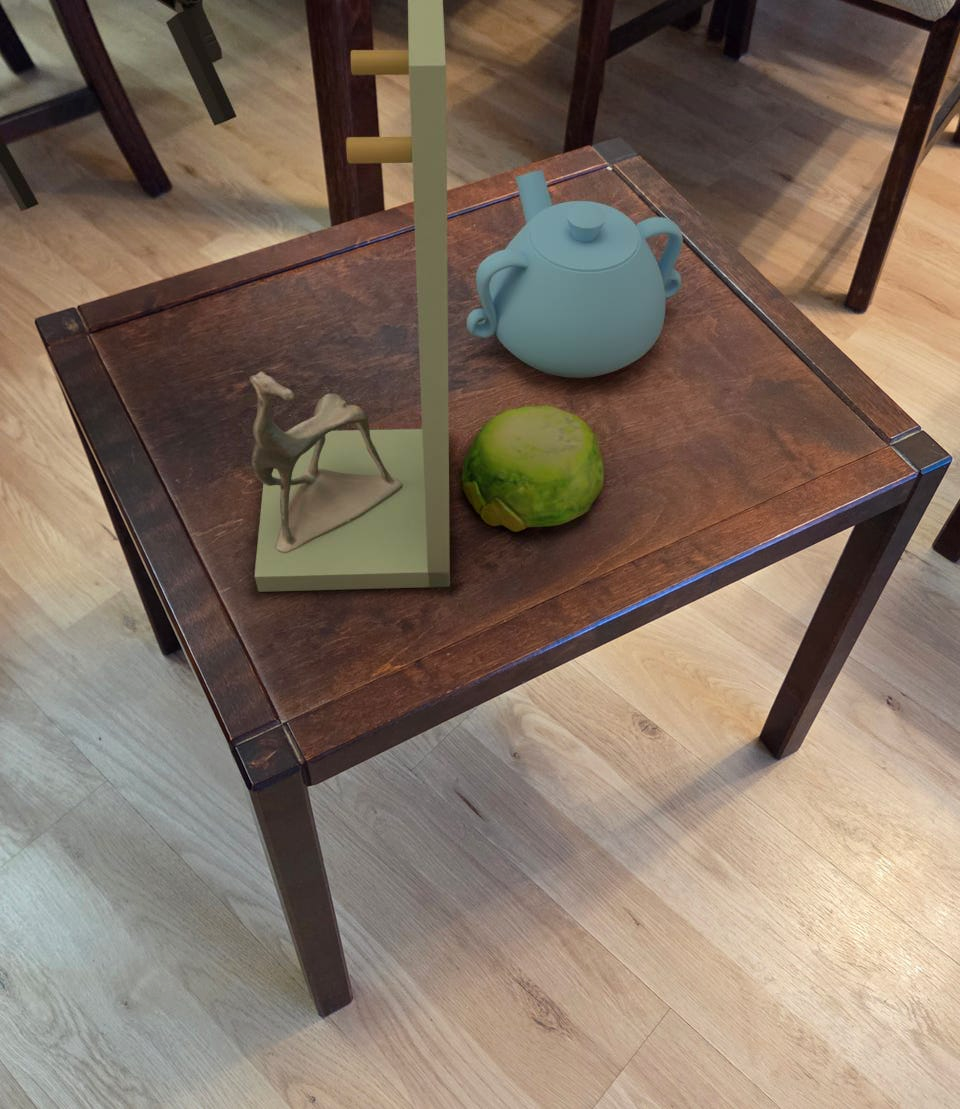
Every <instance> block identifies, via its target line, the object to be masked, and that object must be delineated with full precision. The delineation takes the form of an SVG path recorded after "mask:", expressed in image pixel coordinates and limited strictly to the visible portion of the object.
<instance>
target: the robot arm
mask: <svg viewBox="0 0 960 1109" xmlns="http://www.w3.org/2000/svg"><path fill="white" fill-rule="evenodd" d="M156 1H157V2H159V3H160V4H162V5H163V6H166V7H167V8H168V9H170V10H171V11H173V12H175V13H176V14H175V15H173V16H171V18H169V19H168V20H167V21H166V26H167V27H168V30H169V32H170V34H171V37H172V38H173V40H174V43H175V44H176V47H177V49H178V51H179V53H180V55H181V57H182V59H183V62H184V64H185V66H186V68H187V70H188V72H189V75H190V78H192V81H193V84H194V86H195V87H196V89H197V92H198V93H199V96H200V98H201V100H202V102H203V105H204V107H205V109H206V111H207V114H208V115H209V117H210V119H211V122H212V124H213V126H215V127H216V126H218V125H221V124H223V123H225V122H227V121H230V120H233V119H235V118H237V117H238V116H237V113H236V112H235V109H234V107H233V105H232V102H231V101H230V98H229V96H228V94H227V91H226V90H225V88H224V85H223V84H222V81H221V78H220V76H219V74H218V72H217V70H216V68H215V65H214V63H216V62H218V61H220V60H222V59H223V52H222V48H221V47H222V46H221V45H220V43H219V41H218V39H217V36H216V34H215V32H214V30H213V27H212V25H211V23H210V21H209V18H208V16H207V14H206V12H205V9H204V5H203V1H204V0H156ZM0 176H1V178H2V180H3V182H4V183H5V185H6V187H7V189H8V191H9V192H10V194H11V196H12V198H13V199H14V201H15V203H16V205H17V207H18V208H19V210H20V212H22V211H23V212H24V211H26V210H29V209H31V208H33V207H35V206H38V205H39V204H40V203H39V202H38V199H37V198H36V196H35V194H34V192H33V191H32V189H31V187H30V185H29V184H28V182H27V180H26V178H25V175H23V173H22V171H21V169H20V167H19V166H18V163H17V162H16V159H15V158H14V156H13V155H12V153H11V151H10V149H9V148H8V146H7V144H6V142H5V141H4V139H3V137H2V135H1V134H0Z"/></svg>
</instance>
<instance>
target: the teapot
mask: <svg viewBox="0 0 960 1109" xmlns="http://www.w3.org/2000/svg"><path fill="white" fill-rule="evenodd" d="M515 181H516V187H517V190H518V195H519V199H520V203H521V208H522V213H523V217H524V220H525V225H524V226H523V227H522V228H521V229H520V230H519V231H518V233H517V234H516V235H515V236H514V237H513V238H512V240H510V242H509V243H508V245H507V246H506V247H505V248H504V249H501V250H499V251H495V252H493V253H492V254H490V255H488V256H487V257H486V258H484V260H482V262H481V263H480V264H479V266H478V267H477V270H476V275H475V285H476V290H477V294H478V297H479V301H480V303H481V305H482V308H475V309H473V310H472V311H470V312H469V314H468V316H467V317H466V328H467V331H468V332H469V333H470V334H471V336H473V337H475V338H479V339H488V338H491V337H493V336H494V335H495V336H496V338H497V340H498V341H499V343H501V344H502V346H503V347H504V348H505V349H506V350H508V351H509V352H510V353H511V354H512V355H513V356H514V357H516V358H517V359H518V360H521V362H522V363H524V364H525V365H528V366H530V367H532V368H533V369H535V370H537V371H540V372H542V373H544V374H547V375H552V376H555V377H561V378H570V379H585V378H595V377H600V376H603V375H606V374H610V373H614V372H616V371H618V370H621V369H622V368H625V367H628V366H629V365H631V364H632V363H635V362H636V361H638V360H639V359H641V358H642V357H643V356H644V355H646V354H647V353H648V351H650V350H651V348H652V347H653V346H654V345H655V343H656V342H657V341H658V339H659V337H660V335H661V333H662V331H663V328H664V324H665V317H666V299H669V298H671V297H673V296H675V295H676V294H678V293H679V291H680V289H681V287H682V276H681V274H680V272H679V271H677V270H676V269H674V267H675V265H676V263H677V261H678V259H679V256H680V255H681V252H682V249H683V243H684V242H683V241H684V239H683V238H684V237H683V233H682V230H681V229H680V227H679V226H678V225H677V224H676V223H675V221H673V220H671V219H669V218H667V217H662V216H654V217H650V218H647V219H644V220H641V221H639V222H638V223H636V224H635V222H634V221H633V220H632V219H631V218H630V217H629V216H627V215H626V214H625V213H623V212H622V211H620V210H618V209H617V208H614V207H612V206H610V205H607V204H603V203H600V202H596V201H588V200H573V201H572V200H571V201H565V202H561V203H556V204H554V205H553V202H552V199H551V195H550V191H549V189H548V185H547V181H546V177H545V173H544V170H543V169H539V170H535V171H530V172H527V173H523V174H521V175H518V176H515ZM658 235H668V238H667V242H666V245H665V247H664V249H663V251H662V253H661V256H660V258H659V259H658V260H657V259H656V256H655V254H654V252H653V250H652V249H651V246H650V245H649V244H648V242H647V239H650V238H652V237H655V236H658ZM481 320H482V321H481Z"/></svg>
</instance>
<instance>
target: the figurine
mask: <svg viewBox="0 0 960 1109" xmlns="http://www.w3.org/2000/svg"><path fill="white" fill-rule="evenodd" d="M249 382H250V383H251V385H252V386H253V388H254V390H255V394H256V398H257V412H256V417H255V418H254V422H253V426H252V435H253V438H254V441H255V443H254V447H253V451H252V456H251V468H252V469H251V470H252V471H253V474H254V476H255V478H256V479H257V480H258V481H259V482H260V483H262V485H263V484H265V485H268V486H273V485H279V486H280V489H281V490H280V511H281V518H282V524H281V528H280V531H279V535H278V539H277V543H276V545H275V549H276V550H277V551H279V552H281V553H289V552H291V551H293V550H295V549H297V548H299V547H301V546H303V545H305V544H306V543H308V542H310V541H312V540H314V539H316V538H318V537H320V536H322V535H325V534H327V533H329V532H331V531H333V530H335V529H337V528H340V527H342V526H344V525H346V524H348V523H350V522H352V521H354V520H356V519H357V518H359V517H361V516H363V515H364V514H365V513H367V512H368V511H370V510H371V509H373V508H375V507H376V506H378V505H379V504H381V503H382V502H383V501H385V500H386V499H388V498H389V497H391V496H392V495H394V494H395V493H396V492H398V491H399V490H400V489H401V488H402V487H403V485H402V483H401V482H400V481H399V480H398V479H397V478H395V477H393V476H390V474H389V473H388V472H387V470H386V469H385V467H384V465H383V463H382V461H381V459H380V457H379V455H378V453H377V451H376V448H375V446H374V445H373V443H372V441H371V439H370V430H371V429H370V424H369V418H368V415H367V413H366V412H365V410H364V409H363V408H362V407H360V406H358V405H357V404H348V403H347V401H346V400H344V398H343V397H342V396H341V395H339V394H337V393H331V392H330V393H327V394H325V395H323V396H322V397H321V398H320V399H319V401H317V404H316V405H315V409H314V411H313V417H310V418H308V419H306V420H304V421H301V422H300V423H298V424H296V425H294V426H293V427H291V428H289V429H288V430H287V431H284V430H283V429H281V428H280V427H279V425H277V423H275V421H273V419H272V415H271V413H270V407H271V403H272V402H273V400H275V398H276V397H280V398H281V399H282V400H284V401H286V402H292V401H293V400H294V398H295V393H294V391H293V390H291V389H290V388H288V387H286V386H283V385H281V384H280V383H278V382H277V381H276V380H275V378H274V377H272V376H271V375H267V373H266V371H263V370H262V371H259V372H258V373H256V374H254V375H253V374H252V375H250V376H249ZM349 424H350V425H353V424H355V425H356V426H357V428H358V430H360V432H361V434H362V437H363V439H364V441H365V444H366V447H367V450H368V452H369V454H370V455H371V457H372V458H373V460H374V461H375V463H376V464H377V466H378V468H379V469H380V472H381V475H356V474H346V473H339V472H334V471H329V470H325V469H318V461H319V457H320V453H321V451H322V448H323V445H324V443H325V435H326V434H327V433H328V432H330V431H336V430H337V429H340V427H343V426H347V425H349ZM314 445H315V449H314V452H313V456H312V459H311V463H310V466H309V468H306V469H305V470H304V471H303V473H302V475H301V477H298V478H296V479H291V478H292V472H293V469H294V466H295V464H296V462H297V460H298V459H299V457H300V456H301V455H303V454H304V453H306V452H307V451H308V450H309V449H311V448H312V447H313V446H314ZM274 469H277V470H278V472H279V474H280V478H281V479H279V478H274V477H272V472H273V470H274ZM291 485H297V486H296V488H295V491H294V493H293V495H292V498H291V500H290V502H289V493H290V486H291Z"/></svg>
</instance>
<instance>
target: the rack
mask: <svg viewBox="0 0 960 1109" xmlns="http://www.w3.org/2000/svg"><path fill="white" fill-rule="evenodd" d="M407 31H408V32H407V33H408V34H407V36H408V38H407V40H408V45H407V46H408V49H352V50H351V51H350V69H351V70H350V71H351V74H352V76H402V75H404V76H405V75H406V76H408V83H409V86H408V87H409V107H410V108H409V109H410V110H409V111H410V112H409V113H410V135H411V136H351V137H350V136H347V138H346V142H345V144H346V146H345V148H346V160H347V163H348V164H411V163H412V164H411V165H412V190H413V191H412V192H413V216H414V219H413V221H414V243H415V244H414V246H415V273H416V274H415V275H416V298H417V299H416V300H417V326H418V328H417V329H418V352H419V353H418V354H419V378H420V379H419V380H420V382H419V383H420V405H421V407H420V408H421V428H397V429H396V428H395V429H393V428H392V429H369V430H370V439H371V441H372V443H373V445H374V446H375V448H376V451H377V453H378V455H379V457H380V459H381V461H382V463H383V465H384V467H385V469H386V470H387V472H388V473H389V474H390V476H393V477H395V478H397V479H398V480H399V481H400V482H401V483H402V485H403V487H402V488H401V489H400V490H399V491H398V492H396V493H395V494H394V495H392V496H391V497H389V498H388V499H386V500H385V501H383V502H382V503H381V504H379V505H378V506H376V507H375V508H373V509H371V510H370V511H368V512H367V513H365V514H364V515H363V516H361V517H359V518H357V519H356V520H354V521H352V522H350V523H348V524H346V525H344V526H342V527H340V528H337V529H335V530H333V531H331V532H329V533H327V534H325V535H322V536H320V537H318V538H316V539H314V540H312V541H310V542H308V543H306V544H305V545H303V546H301V547H299V548H297V549H295V550H293V551H291V552H289V553H281V552H279V551H277V550H276V549H275V545H276V543H277V539H278V535H279V531H280V528H281V524H282V518H281V511H280V490H281V489H280V486H279V485H273V486H268V485H265V484H263V483H262V494H261V505H260V513H259V514H260V515H259V526H258V536H257V547H256V557H255V565H254V566H255V568H254V579H255V584H256V588H257V591H258V592H259V593H265V592H266V593H267V592H268V593H271V592H304V591H336V590H337V591H338V590H339V591H343V590H375V589H376V590H377V589H379V590H380V589H381V590H382V589H412V588H414V589H415V588H449V587H451V586H450V585H451V572H450V569H451V568H450V564H451V563H450V562H451V559H450V557H451V555H450V552H451V551H450V548H451V547H450V438H449V437H450V434H449V433H450V431H449V428H450V427H449V426H450V425H449V423H450V420H449V414H450V413H449V412H450V411H449V410H450V409H449V305H448V304H449V303H448V302H449V299H448V298H449V294H448V293H449V292H448V290H449V286H448V285H449V284H448V279H449V277H448V169H447V168H448V158H447V156H448V155H447V154H448V152H447V150H448V149H447V143H448V142H447V137H448V136H447V59H446V57H447V56H446V39H445V37H446V36H445V18H444V0H407ZM314 449H315V445H314V446H313V447H312V448H311V449H309V450H308V451H307V452H306V453H304V454H303V455H301V456H300V457H299V459H298V460H297V462H296V464H295V466H294V469H293V472H292V478H291V479H296V478H298V477H301V475H302V473H303V471H304V470H305V469H306V468H309V466H310V463H311V459H312V456H313V452H314ZM318 469H325V470H329V471H334V472H339V473H346V474H356V475H381V472H380V469H379V468H378V466H377V464H376V463H375V461H374V460H373V458H372V457H371V455H370V454H369V452H368V450H367V447H366V444H365V441H364V439H363V437H362V434H361V432H360V429H353V430H352V429H351V430H350V429H349V430H348V429H347V430H346V429H345V430H332V431H330V432H328V433H327V434H326V435H325V443H324V445H323V448H322V451H321V453H320V457H319V461H318ZM272 477H274V478H279V479H281V478H280V474H279V472H278V470H277V469H274V470H273V472H272ZM296 486H297V485H291V486H290V493H289V502H290V500H291V498H292V495H293V493H294V491H295V488H296Z"/></svg>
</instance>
